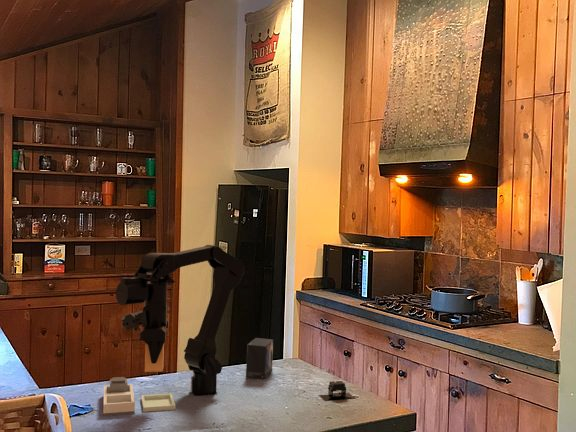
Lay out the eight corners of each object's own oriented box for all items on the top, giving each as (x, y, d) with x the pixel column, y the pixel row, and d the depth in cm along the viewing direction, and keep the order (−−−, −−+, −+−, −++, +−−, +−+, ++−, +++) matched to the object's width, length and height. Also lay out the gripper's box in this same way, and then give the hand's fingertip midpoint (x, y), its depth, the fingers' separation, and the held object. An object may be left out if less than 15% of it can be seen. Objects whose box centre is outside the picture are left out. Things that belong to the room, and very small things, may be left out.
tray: (171, 399, 166) (171, 393, 166) (175, 411, 157) (175, 405, 157) (141, 401, 164) (141, 395, 164) (143, 413, 154) (143, 407, 154)
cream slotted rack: (132, 396, 168) (132, 374, 168) (134, 415, 153) (134, 391, 153) (103, 398, 166) (104, 375, 166) (103, 418, 151) (103, 393, 150)
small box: (265, 379, 187) (266, 345, 187) (245, 378, 188) (245, 344, 188) (273, 370, 197) (274, 338, 197) (253, 369, 199) (254, 337, 199)
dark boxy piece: (352, 393, 177) (352, 377, 177) (362, 401, 170) (363, 384, 170) (311, 396, 173) (312, 380, 173) (320, 404, 166) (321, 387, 166)
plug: (163, 367, 162) (164, 337, 162) (162, 371, 158) (163, 340, 158) (146, 367, 161) (146, 337, 161) (144, 371, 157) (145, 340, 157)
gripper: (128, 296, 167) (127, 352, 168) (119, 307, 149) (118, 370, 149) (169, 296, 169) (168, 352, 169) (165, 307, 150) (164, 370, 151)
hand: (154, 360), depth 159 cm, fingers closed on plug, 4 cm apart
